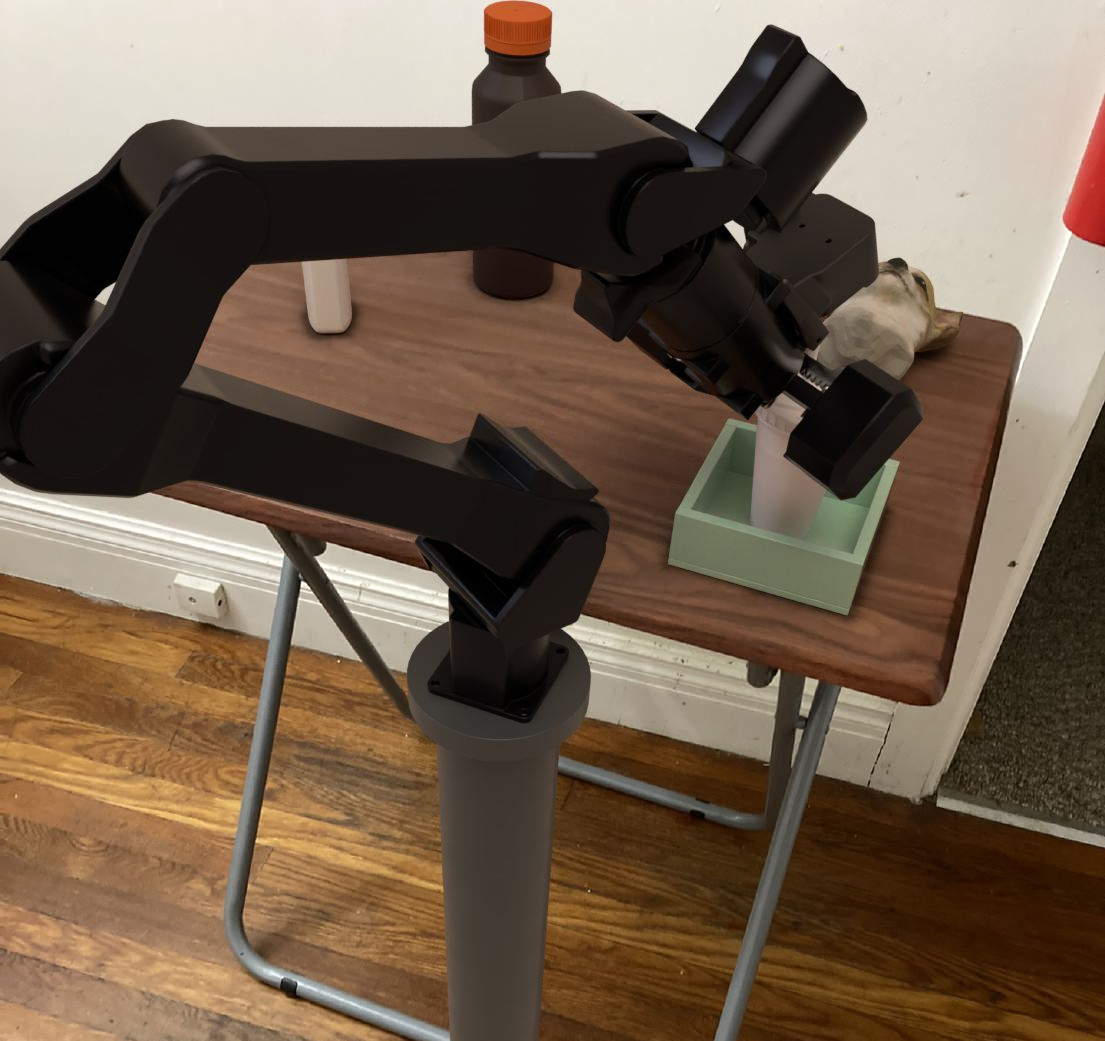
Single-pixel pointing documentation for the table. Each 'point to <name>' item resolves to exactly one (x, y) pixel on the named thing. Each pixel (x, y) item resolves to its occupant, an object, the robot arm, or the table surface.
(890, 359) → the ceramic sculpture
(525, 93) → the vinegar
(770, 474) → the smoothie
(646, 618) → the table surface
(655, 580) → the table surface
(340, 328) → the eye dropper bottle
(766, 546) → the open box
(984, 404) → the table surface
